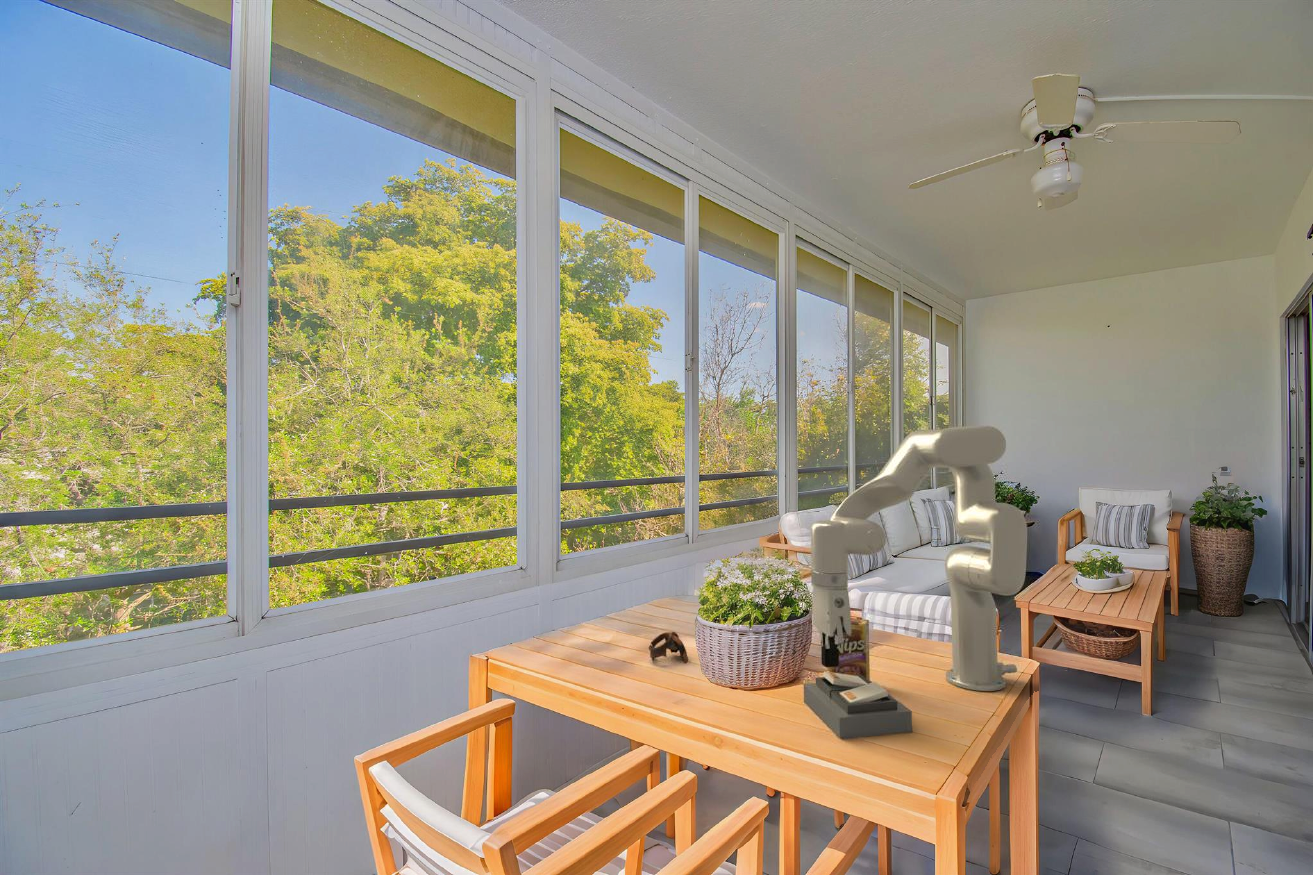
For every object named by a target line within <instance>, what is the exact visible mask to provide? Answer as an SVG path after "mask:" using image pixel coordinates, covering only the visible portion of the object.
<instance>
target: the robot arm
mask: <svg viewBox="0 0 1313 875" xmlns="http://www.w3.org/2000/svg"><path fill="white" fill-rule="evenodd" d="M1006 449H1007V441H1006V437H1005V435H1004V434H1003V432H1002V431H1001V430H999V429H998V428H996V427H994V426H991V425H978V426H977V425H976V426H975V425H974V426H973V425H972V426H953V427H952V426H951V427H947V428H946V427H945V428H943V429H942V428H941V429H939V428H938V429H920V430H919V429H918V430H916V431H911V432H910V433H909V434H907V435H906V436H905V437H904V439H903V440H902V441H901V443H900V445H898V447H897V448H896V450H894V452H893V453H892V455H891V456H890V457H889V459H888V460H887V462H886V463H885V465H884V466H883V467H882V469H881V470H880V472H879V473H878V474H877V475H876V476H874V478H872V479H871V480H869V481H867V482H866V483H865V484H863V485H862V486H860V487H859V488H857V489H856V490H854V491H853V492H851V493H850V494H849V495H848V496H847V497H846V498H845V499H844V500H843V501H842V502H841V503H840V504H839V506H838V507H837V509H836V510H835V511H834V512H833V514H832V515H831V517H830V518H829V520H817V521H814V522H813V523H812V525H811V527H810V551H811V552H810V555H811V556H810V566H811V567H810V568H811V570H810V571H811V573H810V574H811V575H810V576H811V579H810V580H811V581H810V582H811V583H810V584H811V587H812V600H811V601H812V605H811V607H812V608H811V614H812V615H811V616H812V619H811V621H812V625H813V626H814V627H815V628H816V630H817V632H818V633H819V638H820V640H819V641H820V645H821V648H820V650H821V651H820V652H821V654H820V655H821V656H820V657H821V658H820V659H821V660H820V661H821V665H822V666H823V667H824V668H829V667H838V666H839V648H840V644H843V643H844V641H843V634H844V635H846V636H850V635H851V618H852V617H851V606H850V605H851V604H850V598H849V597H850V596H849V592H848V587H849V585H848V584H849V581H848V578H849V575H848V574H849V572H848V570H849V567H848V562H849V561H848V555H857V556H873V555H876V554H878V553H879V552H881V551H882V550H883V549H884V547H885V545H886V544H887V543H886V542H887V535H886V534H887V533H886V531H885V530H884V528H883V527H882V526H881V525H880V524H878V523H877V522H874V521H871V520H869V518H870V517H871V516H872V515H874V514H876V513H878V512H880V511H881V510H885V509H887V508H889V507H894V506H896V505H897V506H898V505H899V504H902V503H904V502H907V501H908V500H910V499H911V498H912V497H913V496H914V494H915V492H916V491H917V490H918V489H919V487H920V485H921V484H922V482H923V481H924V480H925V478H926V477H927V475H928V474H929V472H930V471H931V470H932V469H933V468H947V469H948V468H949V470H950V472H951V473H952V476H953V478H954V487H955V488H954V510H953V513H954V515H953V525H954V530H955V532H956V534H957V535H958V536H959V537H960V538H962V539H965V540H968V541H973V542H977V543H978V542H979V543H983V544H989V546H990V547H989V549H988V548H984V547H978V546H973V545H961V546H957V547H955V548H953V549H951V550H950V551H949V552H948V554H947V555H946V558H945V563H944V566H945V569H944V570H945V574H946V579H947V582H948V587H949V594H950V609H951V610H950V612H951V613H950V614H951V615H950V617H951V647H952V648H951V649H952V654H951V656H952V668H951V669H949V670H947V671H946V672H945V678H946V680H947V681H948V683H950V684H952V685H954V686H957V687H960V688H962V689H966V690H972V691H979V692H993V691H994V692H995V691H999V690H1001V691H1002V690H1003V689H1005V688H1006V686H1007V682H1006V679H1005V677H1003V676H1004V675H1006V674H1014V673H1017V672H1018V669H1017V668H1018V667H1017V666H1016V664H1015V663H1012V664H1011V663H1010V664H1004V663H1003V662H1002V661H1000V662H998V633H997V632H998V631H997V630H998V629H997V628H998V627H997V625H998V624H997V623H998V622H997V606H996V602H995V600H994V596H993V595H992V594H995V595H1001V596H1014V595H1016V594H1017V593H1019V591H1020V590H1021V589H1022V588H1023V586H1024V584H1025V580H1026V574H1027V573H1026V571H1027V552H1028V524H1027V520H1026V518H1025V516H1024V513H1023V512H1022V511H1021V510H1020V509H1019V508H1018V507H1017V506H1015V505H1013V504H1009V503H1006V502H997V501H996V482H995V476H994V473H993V471H992V469H991V468H990V465H989V464H995V463H996V462H997V461H999V460H1000V459H1002V457H1003V455H1004V454H1005V452H1006Z"/></svg>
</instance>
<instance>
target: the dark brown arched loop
mask: <svg viewBox="0 0 1313 875" xmlns="http://www.w3.org/2000/svg"><path fill="white" fill-rule="evenodd" d="M663 641H665V642H664V643H662V644H660V645H658V644H659V643H661V642H663ZM657 645H658V646H657ZM656 646H657V647H656ZM667 649H668V650H669V651H670V653H678V652H679V656H680V657H682V658H683V659H684V660H683V662H684V663H685V664H686V663H688V661H689V656H688V654H687V653H688V652H687V649H686V647H685V645H684V642H683V641H682V640H681V639H680V638H679V635H678V634H677V632H675V631H672V632H670V631H667V632H663V633H661V634H659V635H657V636H656V637H655V638H653V640H652V641H651V642H650V645H649V646H648V650H649V655H650V656H649V658H651V660H652V661H653V660H655V659H657V658H661V657H665V658H667V657H668V655H667Z"/></svg>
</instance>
